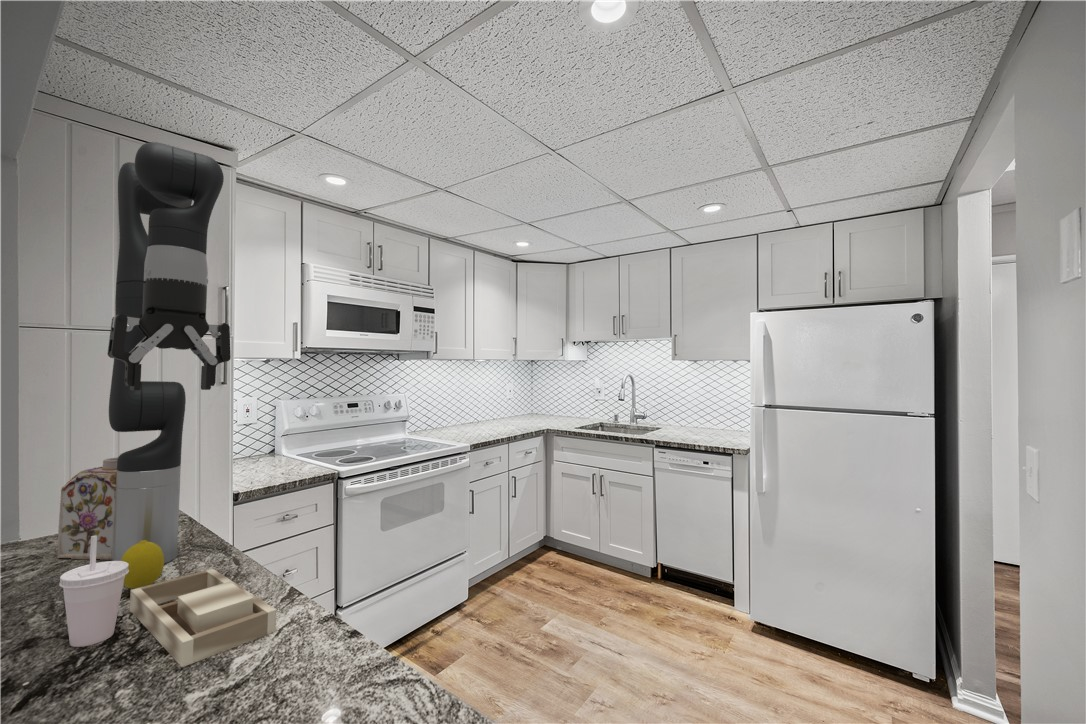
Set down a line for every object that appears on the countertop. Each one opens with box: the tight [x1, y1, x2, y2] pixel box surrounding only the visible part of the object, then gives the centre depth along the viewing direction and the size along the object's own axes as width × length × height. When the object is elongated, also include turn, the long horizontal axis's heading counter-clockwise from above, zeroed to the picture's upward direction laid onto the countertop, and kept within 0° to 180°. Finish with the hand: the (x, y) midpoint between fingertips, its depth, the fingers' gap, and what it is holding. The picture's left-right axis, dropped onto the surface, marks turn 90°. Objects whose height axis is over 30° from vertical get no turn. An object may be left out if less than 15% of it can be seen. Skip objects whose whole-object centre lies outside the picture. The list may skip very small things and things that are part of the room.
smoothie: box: [58, 536, 129, 648], centre depth 60 cm, size 6×6×14 cm
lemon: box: [121, 540, 165, 590], centre depth 76 cm, size 6×6×8 cm
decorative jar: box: [57, 456, 119, 561], centre depth 95 cm, size 12×12×18 cm
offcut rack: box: [129, 568, 277, 668], centre depth 64 cm, size 22×10×4 cm, turn 53°
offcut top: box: [177, 582, 253, 632], centre depth 62 cm, size 8×6×2 cm
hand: (171, 390), depth 71 cm, fingers open, 8 cm apart
